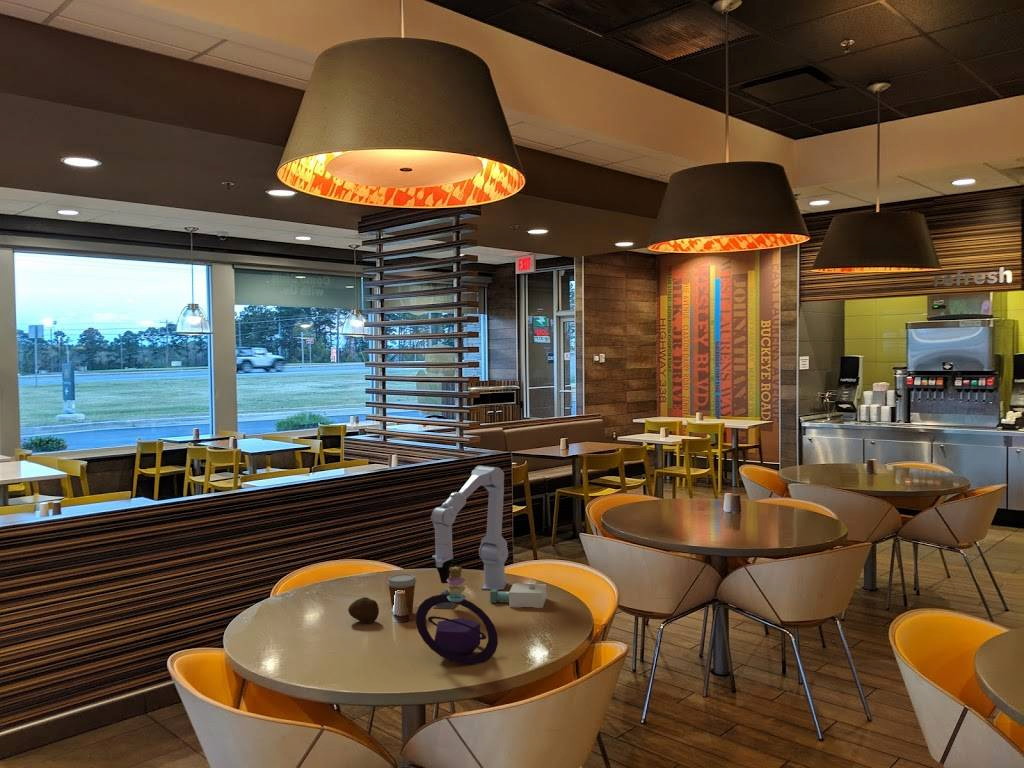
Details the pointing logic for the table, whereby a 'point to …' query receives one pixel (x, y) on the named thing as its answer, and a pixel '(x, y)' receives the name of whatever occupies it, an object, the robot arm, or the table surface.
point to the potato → (364, 610)
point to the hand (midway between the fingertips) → (444, 582)
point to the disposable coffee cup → (402, 588)
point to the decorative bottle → (457, 627)
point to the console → (445, 605)
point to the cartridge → (498, 596)
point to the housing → (527, 595)
